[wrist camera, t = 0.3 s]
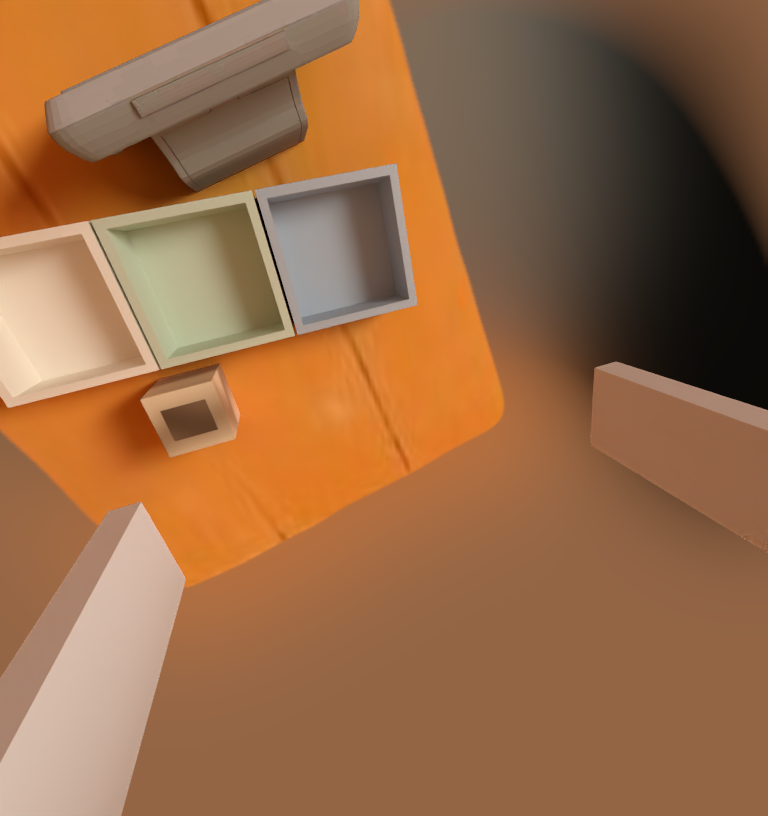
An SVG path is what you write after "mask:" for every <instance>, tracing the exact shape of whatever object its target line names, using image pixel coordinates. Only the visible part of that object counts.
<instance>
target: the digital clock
mask: <svg viewBox="0 0 768 816" xmlns="http://www.w3.org/2000/svg"><path fill="white" fill-rule="evenodd" d="M358 20H359V1H358V0H262V1H260V2H258V3H256V4H254V5H251V6H249V7H247V8H245V9H242V10H240V11H238V12H236V13H234V14H231V15H229V16H227V17H225V18H223V19H220V20H218V21H216V22H214V23H212V24H209V25H207V26H205V27H203V28H200V29H198V30H196V31H194V32H192V33H189V34H187V35H185V36H183V37H181V38H178V39H176V40H174V41H172V42H169V43H167V44H165V45H163V46H161V47H158V48H156V49H154V50H152V51H150V52H147V53H145V54H143V55H141V56H139V57H136V58H134V59H132V60H130V61H127V62H125V63H123V64H121V65H119V66H116V67H114V68H112V69H110V70H108V71H105V72H103V73H101V74H99V75H97V76H94V77H92V78H90V79H88V80H85V81H83V82H81V83H79V84H77V85H74V86H72V87H70V88H68V89H66V90H63V91H61V94H60V95H58V96H56V97H54V98H51V99H49V100H47V101H46V102H45V103H44V105H45V116H46V124H47V131H48V134H50V135H51V137H52V138H53V139H54V140H55V141H56V143H57V144H58V145H60V146H61V147H62V148H64V149H65V150H66V151H67V152H69V153H71V154H73V155H75V156H77V157H79V158H82V159H84V160H87V161H90V162H96V161H98V160H101V159H103V158H105V157H107V156H110V155H112V154H113V155H116V154H118V153H120V152H123V151H124V150H123V149H125V148H127V147H129V146H131V145H133V144H136V143H138V142H140V141H142V140H144V139H146V138H148V137H151V138H152V139H153V140H154V142H155V143H156V144H157V146H158V147H159V148H160V150H161V151H162V152H163V154H164V155H165V157H166V158H167V159H168V161H169V162H170V163H171V165H172V166H173V168H174V169H175V171H176V172H177V174H178V176H179V177H180V178H181V180H182V181H183V182H184V183H185V184H186V185H187V186H189V187H190V188H191V189H193V190H194V191H196V192H198V191H200V190H202V189H204V188H206V187H209V186H211V185H213V184H215V183H217V182H219V181H221V180H223V179H225V178H227V177H229V176H231V175H234V174H236V173H238V172H240V171H242V170H244V169H246V168H248V167H250V166H252V165H254V164H257V163H259V162H261V161H263V160H265V159H267V158H269V157H271V156H273V155H275V154H277V153H279V152H282V151H284V150H286V149H288V148H290V147H292V146H294V145H296V144H298V143H300V142H302V141H304V139H305V136H306V132H307V129H308V119H307V115H306V112H305V109H304V106H303V103H302V99H301V95H300V91H299V87H298V83H297V78H296V72H295V69H296V68H298V67H301V66H303V65H305V64H307V63H309V62H311V61H313V60H316V59H318V58H320V57H322V56H324V55H326V54H328V53H330V52H333V51H335V50H337V49H339V48H341V47H343V46H345V45H347V44H349V43H351V42H352V40H353V38H354V35H355V32H356V29H357V25H358ZM260 62H261V63H260ZM245 69H246V70H245ZM232 75H233V76H232ZM219 81H220V82H219ZM206 87H207V88H206ZM193 93H194V94H193ZM180 99H181V100H180ZM178 100H179V101H178ZM165 106H166V107H165ZM152 112H153V113H152Z"/></svg>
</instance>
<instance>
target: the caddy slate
mask: <svg viewBox="0 0 768 816" xmlns="http://www.w3.org/2000/svg"><path fill="white" fill-rule="evenodd" d="M255 192H256V196H257V199H258V203H259V206H260V209H261V213H262V216H263V219H264V223H265V226H266V230H267V233H268V236H269V240H270V243H271V246H272V250H273V253H274V257H275V260H276V263H277V267H278V270H279V273H280V277H281V280H282V284H283V287H284V290H285V294H286V297H287V300H288V304H289V307H290V310H291V314H292V317H293V321H294V324H295V327H296V331H297V334H298V335H300V334H304V333H308V332H312V331H316V330H320V329H324V328H328V327H332V326H336V325H340V324H344V323H348V322H352V321H356V320H360V319H364V318H368V317H372V316H376V315H380V314H384V313H388V312H392V311H396V310H400V309H404V308H408V307H412V306H415V305H417V298H416V291H415V285H414V278H413V271H412V265H411V258H410V251H409V245H408V238H407V231H406V224H405V218H404V211H403V204H402V198H401V191H400V184H399V178H398V171H397V164H391V165H385V166H380V167H374V168H369V169H364V170H358V171H353V172H348V173H342V174H337V175H332V176H326V177H321V178H315V179H310V180H305V181H299V182H294V183H289V184H283V185H278V186H272V187H267V188H262V189H256V190H255Z"/></svg>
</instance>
